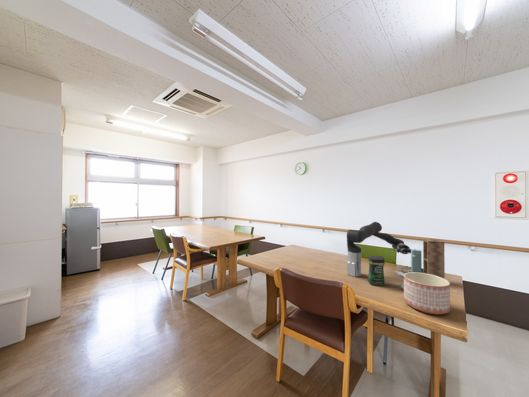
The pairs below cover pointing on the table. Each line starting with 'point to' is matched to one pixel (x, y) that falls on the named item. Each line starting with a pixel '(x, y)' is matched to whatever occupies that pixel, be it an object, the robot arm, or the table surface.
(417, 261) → the teal rectangular block
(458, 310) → the table surface
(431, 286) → the planter
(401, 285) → the handle
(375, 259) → the coffee jar
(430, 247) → the cabinet
